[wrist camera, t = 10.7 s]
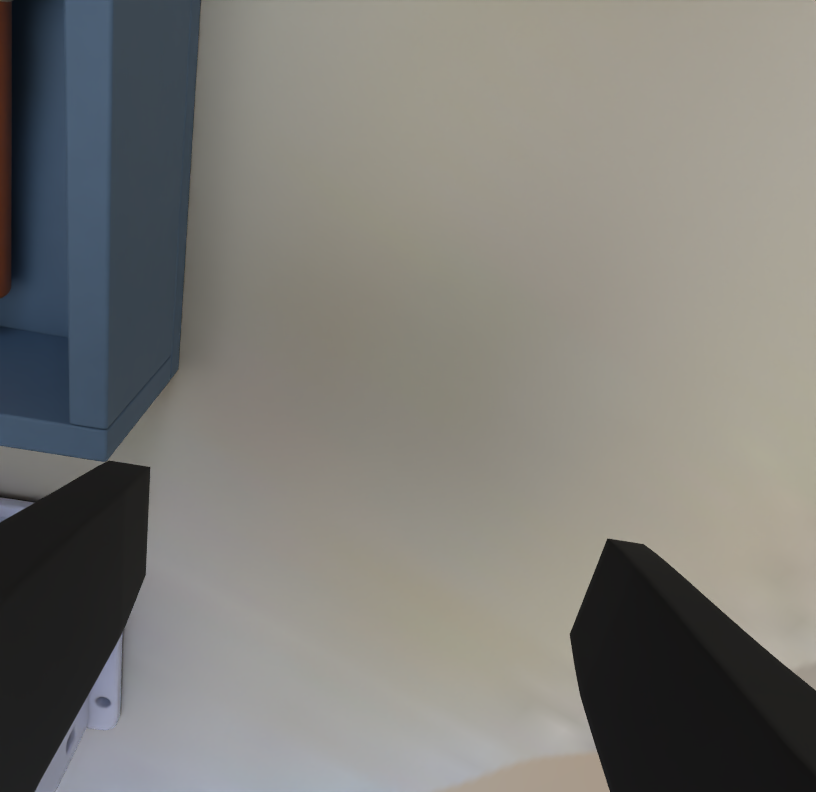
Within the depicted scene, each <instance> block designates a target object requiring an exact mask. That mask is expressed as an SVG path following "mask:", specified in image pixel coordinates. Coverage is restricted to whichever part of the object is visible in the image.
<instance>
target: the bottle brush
mask: <svg viewBox="0 0 816 792" xmlns="http://www.w3.org/2000/svg"><path fill="white" fill-rule="evenodd" d="M12 1H13V0H0V298H3V297H4V296H6V295H7V294H8V293H9V291H10V290H11V189H12Z"/></svg>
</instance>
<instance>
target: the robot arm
mask: <svg viewBox="0 0 816 792" xmlns="http://www.w3.org/2000/svg"><path fill="white" fill-rule="evenodd" d="M149 485H150V467H146V466H140V465H133V464H127V463H120V462H114V461H107V462H105V463H103V464H102V465H100V466H98V467H96V468H94V469H92V470H91V471H89V472H87V473H85V474H84V475H82V476H80V477H78V478H77V479H75V480H73V481H72V482H70V483H68V484H66V485H65V486H63V487H61V488H60V489H58V490H56V491H54V492H53V493H51V494H49V495H48V496H46V497H44V498H42V499H41V500H39V501H37V502H35V503H34V502H28V501H21V500H14V499H7V498H1V497H0V792H55V791H56V789H57V787H58V785H59V783H60V781H61V779H62V777H63V775H64V773H65V771H66V769H67V767H68V765H69V763H70V761H71V759H72V756H73V754H74V752H75V750H76V748H77V746H78V744H79V742H80V740H81V738H82V736H83V734H84V732H85V730H86V728H89V729H98V730H109V729H112V728H114V727H115V726H116V725H117V722H118V720H119V718H120V708H121V672H122V636H123V630H124V627H125V625H126V623H127V620H128V618H129V615H130V613H131V611H132V608H133V606H134V603H135V601H136V598H137V595H138V593H139V590H140V588H141V585H142V583H143V580H144V578H145V575H146V553H147V531H148V508H149ZM570 639H571V645H572V652H573V658H574V665H575V670H576V676H577V681H578V686H579V691H580V696H581V700H582V703H583V706H584V710H585V713H586V716H587V720H588V723H589V726H590V729H591V733H592V736H593V739H594V742H595V746H596V749H597V752H598V755H599V758H600V761H601V765H602V768H603V771H604V774H605V777H606V780H607V783H608V787H609V790H610V792H816V691H815V690H814V689H813V688H812V687H811V686H809V685H808V684H807V683H806V682H805V681H803V680H802V679H801V678H800V677H798V676H797V675H796V674H795V673H793V672H792V671H791V670H790V669H788V668H787V667H786V666H785V665H784V664H782V663H781V662H780V661H779V660H778V659H776V658H775V657H774V656H773V655H772V654H770V653H769V652H768V651H767V650H766V649H765V648H763V647H762V646H761V645H760V644H759V643H758V642H756V641H755V640H754V639H753V638H752V637H751V636H749V635H748V634H747V633H746V632H745V631H744V630H743V629H741V628H740V627H739V626H738V625H737V624H736V623H735V622H733V621H732V620H731V619H730V618H729V617H728V616H727V615H726V614H724V613H723V612H722V611H721V610H720V609H719V608H718V607H717V606H715V605H714V604H713V603H712V602H711V601H710V600H709V599H708V598H706V597H705V596H704V595H703V594H702V593H701V592H700V591H699V590H698V589H696V588H695V587H694V586H693V585H692V584H691V583H690V582H689V581H687V580H686V579H685V578H684V577H683V576H682V575H681V574H679V573H678V572H677V571H676V570H675V569H674V568H673V567H671V566H670V565H669V564H668V563H667V562H666V561H664V560H663V559H662V558H661V557H660V556H658V555H657V554H656V553H655V552H653V551H652V550H651V549H649V548H648V547H647V546H645V545H644V544H639V543H633V542H626V541H620V540H613V539H607V541H606V544H605V546H604V549H603V551H602V554H601V556H600V559H599V561H598V564H597V567H596V569H595V572H594V574H593V577H592V579H591V582H590V584H589V587H588V589H587V592H586V595H585V597H584V600H583V602H582V605H581V607H580V610H579V612H578V615H577V617H576V620H575V622H574V625H573V628H572V630H571V633H570Z"/></svg>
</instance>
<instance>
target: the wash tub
mask: <svg viewBox="0 0 816 792" xmlns="http://www.w3.org/2000/svg"><path fill="white" fill-rule="evenodd" d="M200 2H201V0H13V1H12V189H11V290H10V291H9V293H8V294H7V295H6V296H4V297H3V298H0V446H6V447H12V448H18V449H25V450H31V451H38V452H44V453H50V454H57V455H63V456H70V457H76V458H82V459H89V460H95V461H102V462H106V461H107V460H108V459H109V457H110V456H111V455H112V454H113V452H114V451H115V450H116V449H117V447H118V446H119V445H120V443H121V442H122V441H123V440H124V438H125V437H126V436H127V435H128V433H129V432H130V431H131V429H132V428H133V427H134V426H135V424H136V423H137V422H138V421H139V419H140V418H141V417H142V415H143V414H144V413H145V412H146V410H147V409H148V408H149V407H150V405H151V404H152V403H153V401H154V400H155V399H156V398H157V396H158V395H159V394H160V393H161V391H162V390H163V389H164V387H165V386H166V385H167V384H168V382H169V381H170V379H171V378H172V377H173V376H174V374H175V373H176V372H177V370H178V366H179V350H180V333H181V317H182V300H183V283H184V267H185V250H186V234H187V217H188V201H189V184H190V168H191V151H192V134H193V118H194V101H195V85H196V68H197V52H198V35H199V19H200Z"/></svg>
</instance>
